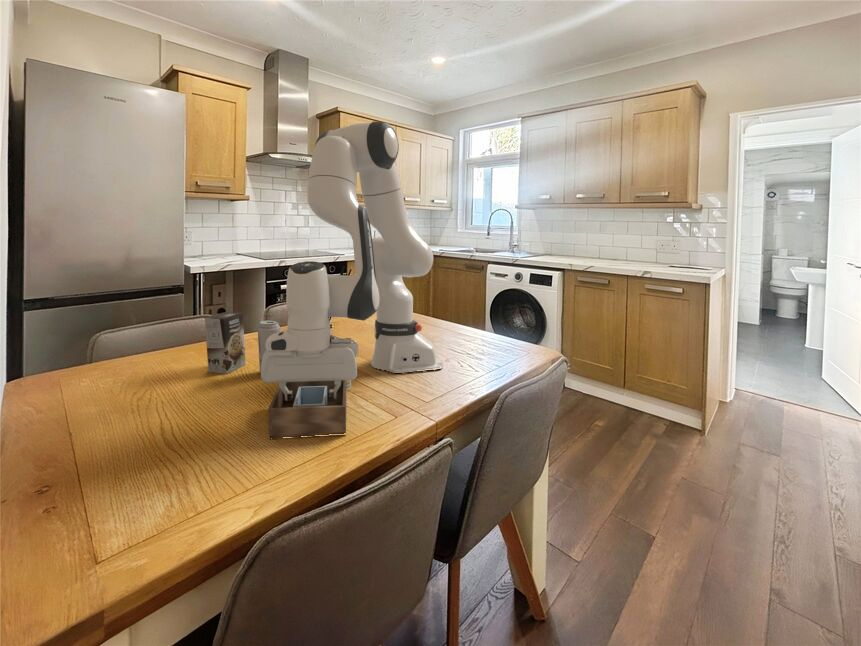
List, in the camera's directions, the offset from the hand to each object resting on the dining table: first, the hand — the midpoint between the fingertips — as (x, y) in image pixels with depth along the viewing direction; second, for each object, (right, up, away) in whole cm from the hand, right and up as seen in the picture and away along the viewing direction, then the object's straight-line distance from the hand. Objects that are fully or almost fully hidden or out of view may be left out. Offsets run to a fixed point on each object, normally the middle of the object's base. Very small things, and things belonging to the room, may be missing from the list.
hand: (311, 399), depth 100 cm
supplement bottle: (+2, -1, +20) cm, 21 cm away
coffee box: (-33, +3, +33) cm, 47 cm away
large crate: (0, -5, +1) cm, 5 cm away
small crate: (0, -4, +1) cm, 4 cm away
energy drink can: (-20, +2, +30) cm, 36 cm away
